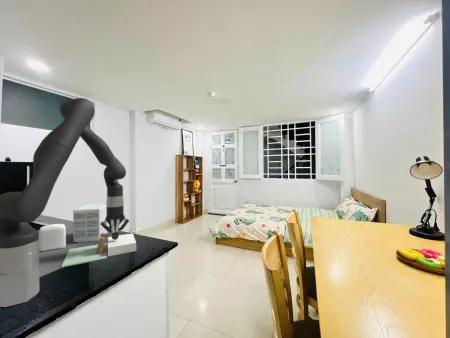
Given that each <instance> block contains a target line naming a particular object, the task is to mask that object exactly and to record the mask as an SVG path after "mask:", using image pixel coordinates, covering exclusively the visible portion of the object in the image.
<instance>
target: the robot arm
mask: <svg viewBox="0 0 450 338" xmlns="http://www.w3.org/2000/svg"><path fill="white" fill-rule="evenodd" d="M95 111H96V110H95V105H94V104H93V103H92V101H91V100H89V99H87V98H84V97H83V98H82V97H76V98H73V99H68V100H65V101H63V102H61V104H60V105H59V112H60V114H61V116H62V117H63V119H64V120H63V121H62V122H61V123H60V124H59V125H58V126H56V127H55V128H54V129H53V130H51V131H50V132H48V134H47V135H46V136H45V137H44V138H43V139H42V140H41V142H40V144H39V145H38V146H37V148H36V149H35V151H34V154H33V156H32V164H33V172H32V173H33V174H32V176H31V179H30V180H29V181H28V183H27V185H26V186H25V188H24V189H23V190H22V191H8V192H4V193H2V194H0V307H4V308H7V307H11V306H16V305H20V304H24V303H28V302H29V301H30V299H33V298H34V297H35V296H37V294H39V292H40V251H39V231H38V230H37V229H36V228H35V227H32V225H30V222H33V221H34V220H36V219H38V218H39V217H40V216H41V215H42V214H43V212H44V211H45V208H46V207H47V204H48V202H49V199H50V197H51V194H52V192H53V189H54V187H55V185H56V183H57V180H58V178H59V176H60V174H61V172H62V171H63V169H64V167H65V165H66V164H67V161H68V160H69V158H70V156H71V155H72V152H73V151H74V148H75V146H76V144H77V143H78V141H79V140H80V138H81V139H82V140H83V141H84V142H85V144H86V145H87V146H88V147H89V149H90V150H91V152H92V153H93V155H94V156H95V158H96V160H97V162H98V163H99V164H101V166H105V169H104V171H103V178H104V182H105V183H104V184H105V186H106V202H105V204H106V218H105V220H104V221H103V222H101V226H102V227H103V228H104V229H106V230H107V231H108V233H111V237H112V239H114V240H117V238H118V236H119V232H121V231H123V230H124V228H125V227H126V226H127V225H128V223H129V221H130V220H129V218H126V216H125V215H124V212H125V211H124V210H125V208H124V204H125V203H124V187H123V185H122V184H120V183H119V180H122V179H124V178H125V177H126V175H127V172H126V171H127V170H126V167H125V166H124V165H123V164H122V162H121V161H120V160H119V159H118V158H117V157H116V156H115V154H113V151H112V149H110V146H109V145H108V143H106V141H105V140H104V139H102V138H101V137H100V136H99V135H97V134H96V133H95V132H94V131H93V130H92V129H91V128H90V127H89V124H90V122H91V121H92V120H93V119H94V116H95V113H96V112H95ZM106 222H107V223H108V224H109V227H108V226H107V225H106V224H107V223H106ZM122 222H123V223H122ZM121 223H122V224H121ZM120 225H121V226H120ZM110 227H111V228H110Z"/></svg>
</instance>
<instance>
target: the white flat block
mask: <svg viewBox="0 0 450 338" xmlns="http://www.w3.org/2000/svg"><path fill="white" fill-rule="evenodd" d="M136 251H137V242H136V239H135V235H134V233H133V232H131V233H126V234H118V238H117V240H114V239H112V236H107V257H112V256H116V255H122V254H127V253H132V252H133V253H134V252H136Z"/></svg>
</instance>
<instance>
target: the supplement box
mask: <svg viewBox="0 0 450 338" xmlns="http://www.w3.org/2000/svg"><path fill="white" fill-rule="evenodd" d="M72 211H73V212H72V214H73V215H72V217H73V219H72V220H73V223H72V224H73V225H72V229H73V231H72V232H73V243H74V242H78V243H87V242H88V241H90V242H99V239H100V235H101V233H107V234H108V233H109V232H108V231H107V230H106V229H104V228H103V227H102V226H101V222H103V221H104V220H105V218H106V203H92V204H91V203H89V204H88V203H87V204H85V205H82V206H80V207H78V208H76V209H73V210H72ZM106 223H107V222H106ZM106 225H107V226H108V227H109V228H110V225H109V224H108V223H107V224H106ZM88 243H89V242H88Z"/></svg>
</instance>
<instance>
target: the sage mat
mask: <svg viewBox="0 0 450 338" xmlns="http://www.w3.org/2000/svg"><path fill="white" fill-rule="evenodd" d="M97 247H98V244H93V245H86V246H80V247H74V248H69V249H68V251H67V253H66V255H65V258H64V259H63V262H62V264H61V266H60V267H61V268H65V267H70V266H76V265H80V264H86V263H90V262H96V261H101V260H104V259H107V257H108V242H105V245H104V249H103V253H102V254H96V252H97Z"/></svg>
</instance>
